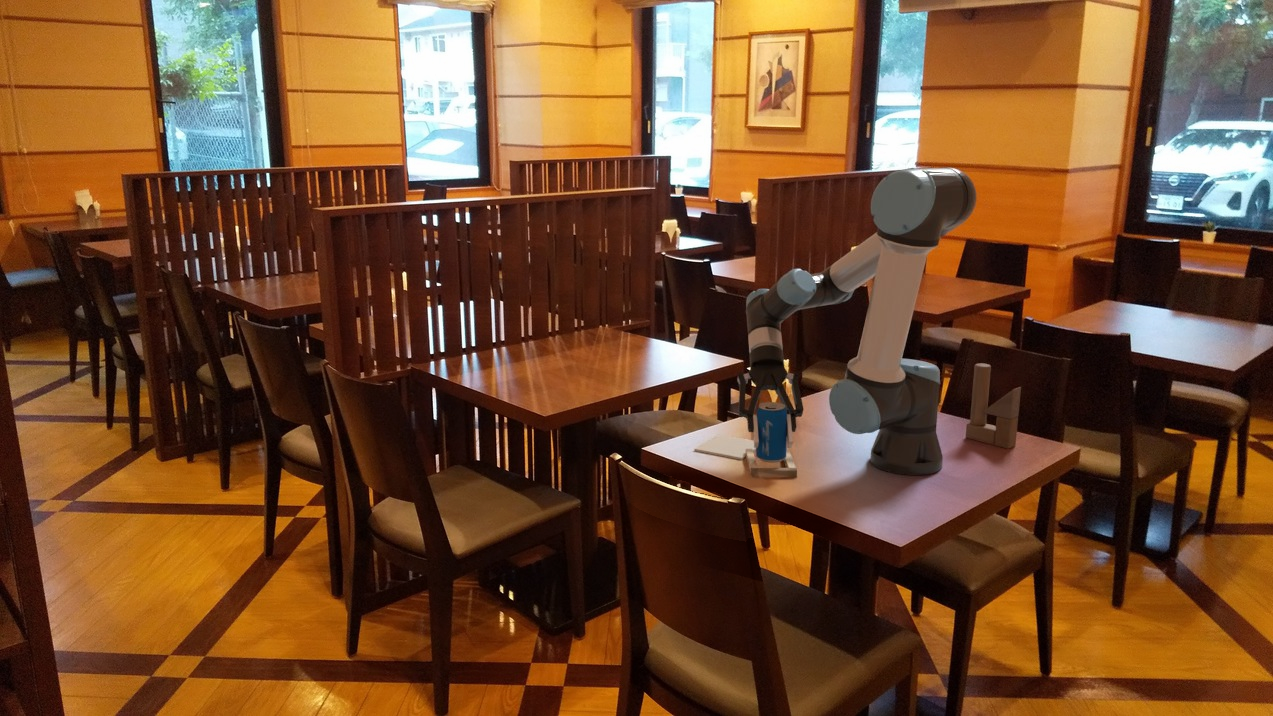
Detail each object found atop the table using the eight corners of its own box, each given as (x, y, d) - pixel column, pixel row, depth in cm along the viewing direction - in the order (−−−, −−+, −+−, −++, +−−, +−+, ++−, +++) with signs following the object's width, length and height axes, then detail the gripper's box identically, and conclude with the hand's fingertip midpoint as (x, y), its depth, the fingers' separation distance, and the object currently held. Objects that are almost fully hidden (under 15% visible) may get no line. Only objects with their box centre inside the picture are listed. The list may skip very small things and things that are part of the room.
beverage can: (751, 461, 192) (752, 407, 190) (762, 452, 198) (762, 400, 195) (780, 465, 189) (781, 411, 187) (790, 456, 195) (791, 403, 192)
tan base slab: (745, 454, 203) (745, 448, 203) (788, 454, 203) (788, 448, 202) (751, 477, 189) (751, 470, 189) (796, 477, 189) (797, 470, 189)
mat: (763, 444, 210) (763, 442, 210) (741, 459, 200) (741, 457, 200) (717, 436, 216) (718, 434, 216) (694, 450, 206) (694, 448, 206)
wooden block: (1008, 449, 204) (1015, 373, 200) (964, 438, 212) (970, 364, 208) (1016, 445, 207) (1023, 370, 202) (973, 434, 215) (979, 362, 210)
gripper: (807, 360, 204) (817, 452, 192) (722, 361, 205) (726, 452, 193) (811, 342, 198) (822, 436, 186) (723, 343, 198) (728, 437, 186)
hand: (773, 444), depth 189 cm, fingers closed on beverage can, 6 cm apart
